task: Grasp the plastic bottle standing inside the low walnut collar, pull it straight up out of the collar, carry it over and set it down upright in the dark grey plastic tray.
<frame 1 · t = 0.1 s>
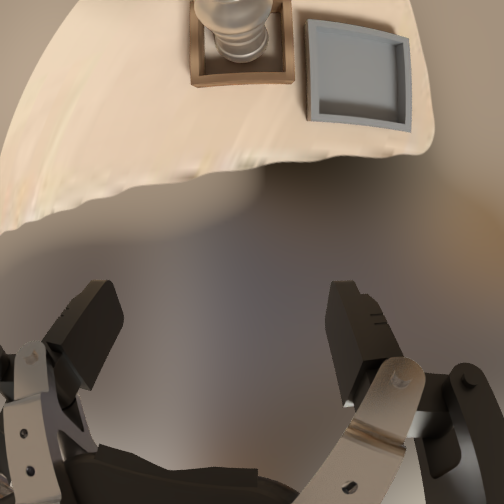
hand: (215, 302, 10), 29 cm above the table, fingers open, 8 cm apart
walnut collar: (242, 43, 28), on the table
grey tray: (357, 76, 29), on the table
plastic bottle: (243, 44, 28), resting in walnut collar
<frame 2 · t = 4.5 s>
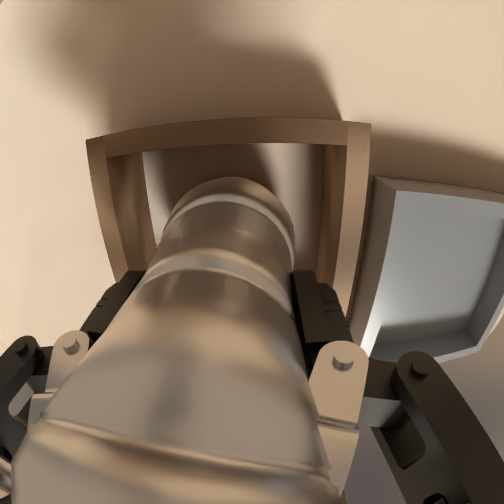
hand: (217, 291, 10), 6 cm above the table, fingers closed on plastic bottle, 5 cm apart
walnut collar: (233, 224, 16), on the table
grey tray: (438, 275, 17), on the table
plastic bottle: (234, 223, 16), resting in walnut collar, touching gripper
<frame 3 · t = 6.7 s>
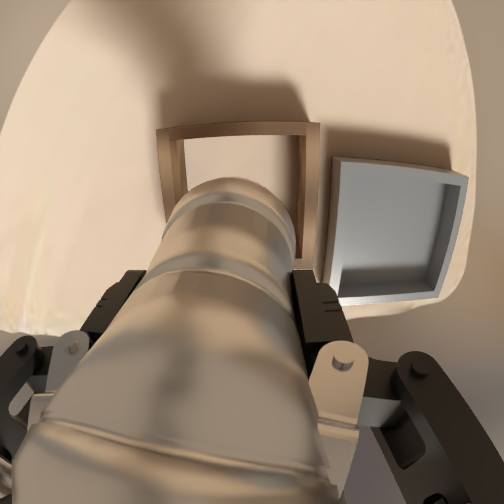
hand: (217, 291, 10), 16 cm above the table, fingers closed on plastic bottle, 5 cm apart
walnut collar: (242, 188, 24), on the table
grey tray: (391, 229, 26), on the table
plastic bottle: (234, 223, 16), point 9 cm above the table, touching gripper
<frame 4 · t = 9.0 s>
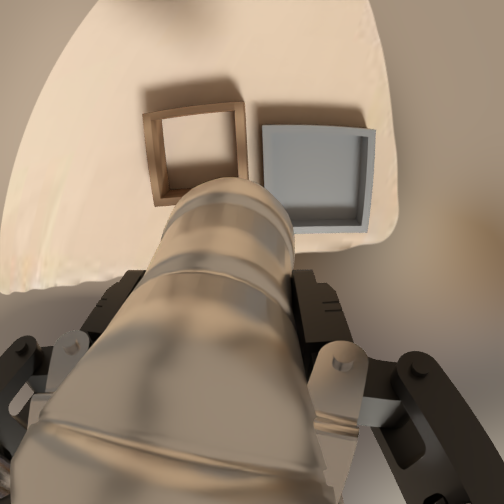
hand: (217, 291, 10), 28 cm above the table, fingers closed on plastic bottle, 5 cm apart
walnut collar: (201, 151, 34), on the table
grey tray: (316, 176, 35), on the table
plastic bottle: (233, 223, 16), point 21 cm above the table, touching gripper
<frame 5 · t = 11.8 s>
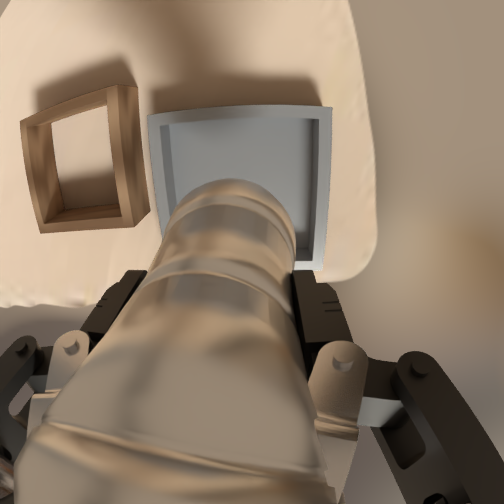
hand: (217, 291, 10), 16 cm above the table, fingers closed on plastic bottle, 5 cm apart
walnut collar: (90, 158, 23), on the table
grey tray: (242, 185, 24), on the table
plastic bottle: (234, 224, 16), point 9 cm above the table, touching gripper
when the fingers open (8 cm above the table, at t = 13.8 s): plastic bottle drops 1 cm, resting on grey tray.
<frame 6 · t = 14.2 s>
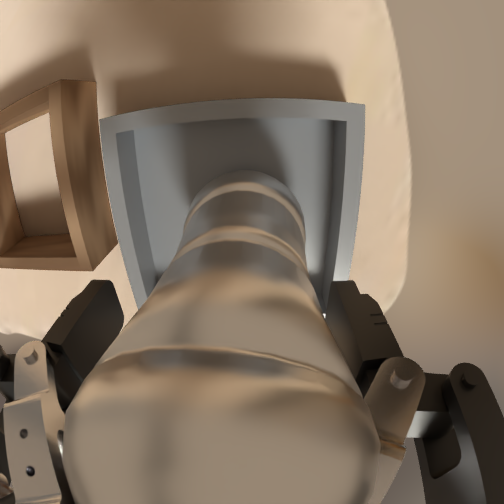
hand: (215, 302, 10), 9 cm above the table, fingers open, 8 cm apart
walnut collar: (45, 176, 16), on the table
grey tray: (235, 212, 18), on the table
plastic bottle: (247, 214, 17), resting on grey tray
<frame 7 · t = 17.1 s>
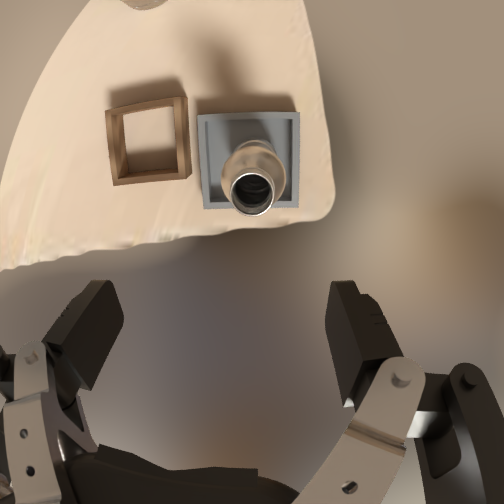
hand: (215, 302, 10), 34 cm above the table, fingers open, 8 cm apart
walnut collar: (152, 139, 38), on the table
grey tray: (250, 157, 40), on the table
plastic bottle: (255, 158, 39), resting on grey tray
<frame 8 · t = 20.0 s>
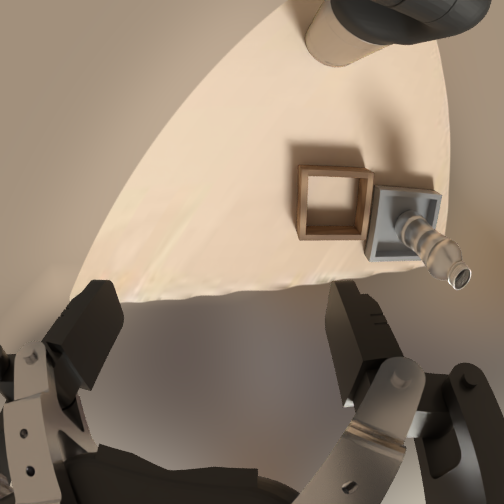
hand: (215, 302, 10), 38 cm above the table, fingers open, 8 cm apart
walnut collar: (331, 199, 46), on the table
grey tray: (400, 222, 48), on the table
plastic bottle: (404, 222, 47), resting on grey tray
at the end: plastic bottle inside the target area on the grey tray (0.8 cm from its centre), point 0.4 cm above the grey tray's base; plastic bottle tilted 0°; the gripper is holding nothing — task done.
